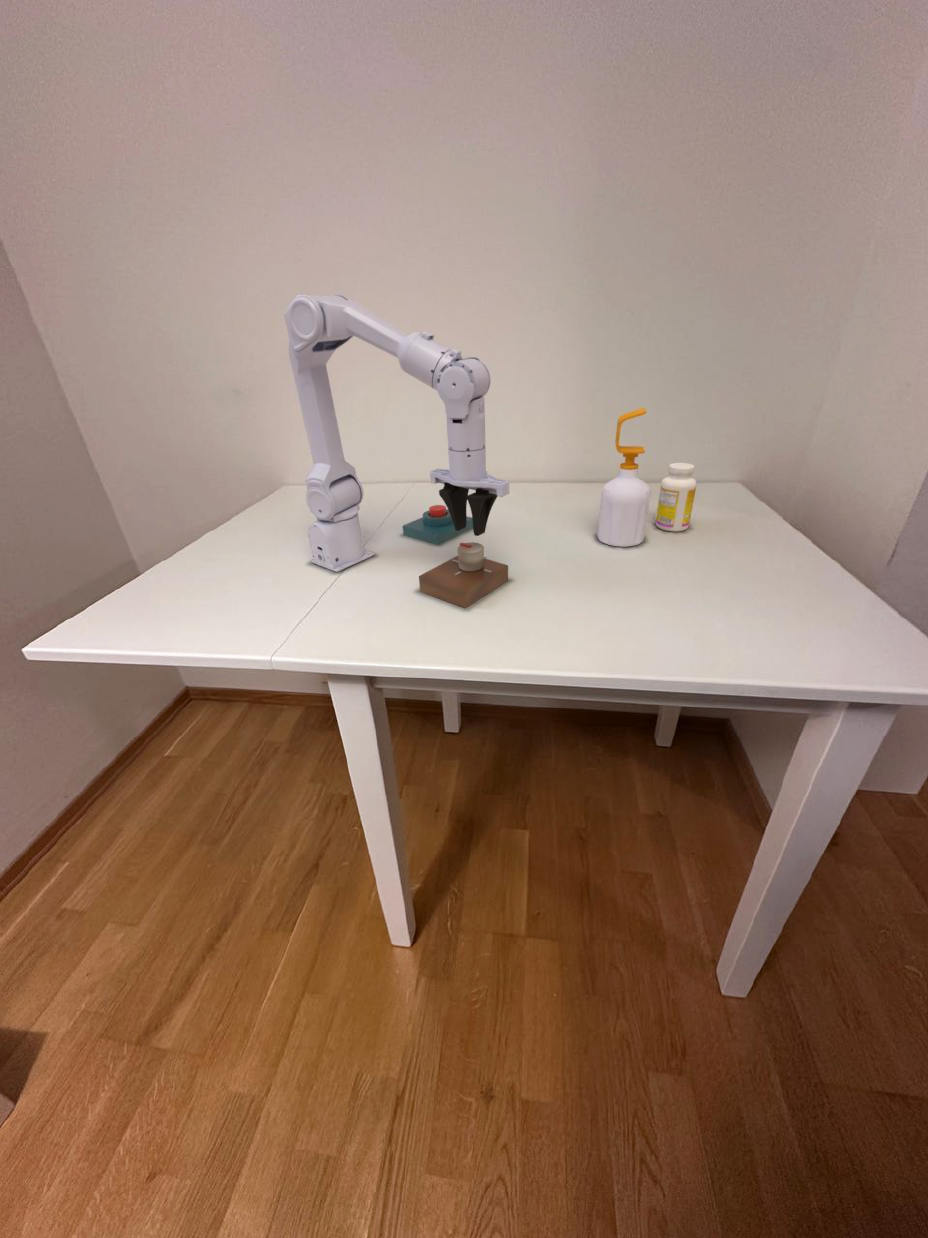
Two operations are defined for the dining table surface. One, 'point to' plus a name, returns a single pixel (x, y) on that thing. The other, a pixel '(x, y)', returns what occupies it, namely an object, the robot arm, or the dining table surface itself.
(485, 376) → the robot arm
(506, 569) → the knob panel
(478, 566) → the knob
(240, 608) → the dining table surface
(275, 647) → the dining table surface
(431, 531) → the button console
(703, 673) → the dining table surface
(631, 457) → the soap bottle
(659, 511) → the supplement bottle
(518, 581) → the dining table surface
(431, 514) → the button
